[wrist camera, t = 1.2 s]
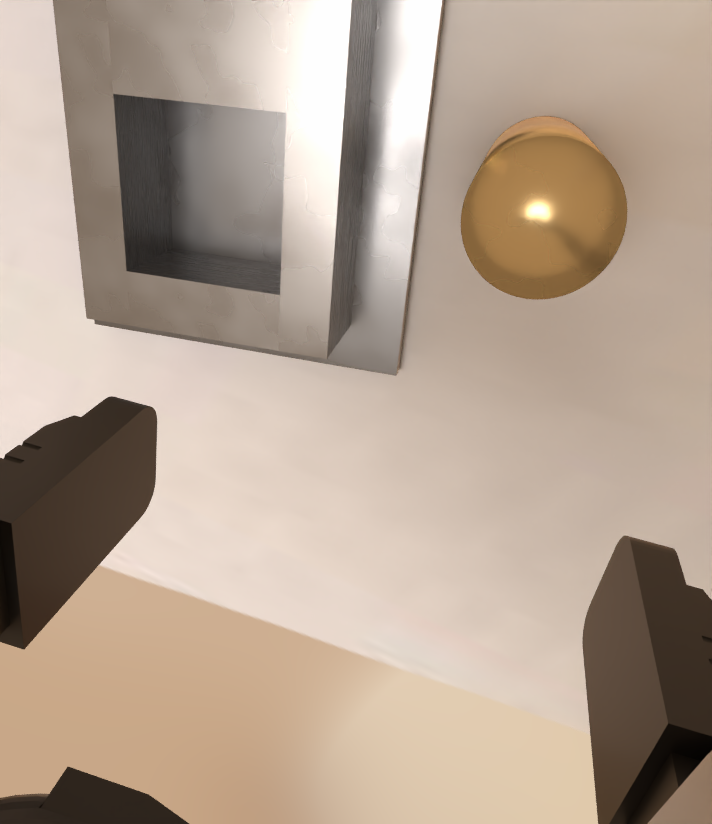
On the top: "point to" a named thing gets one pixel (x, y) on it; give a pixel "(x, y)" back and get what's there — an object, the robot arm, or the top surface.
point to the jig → (250, 168)
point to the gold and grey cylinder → (543, 210)
